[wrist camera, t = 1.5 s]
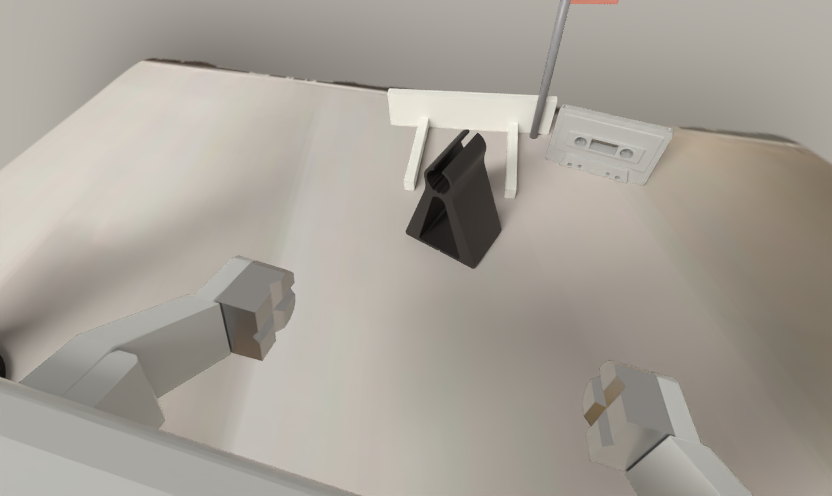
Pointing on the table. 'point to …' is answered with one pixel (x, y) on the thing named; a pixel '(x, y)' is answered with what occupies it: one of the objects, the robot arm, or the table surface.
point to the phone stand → (457, 203)
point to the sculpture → (2, 368)
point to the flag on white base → (482, 110)
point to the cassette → (619, 163)
